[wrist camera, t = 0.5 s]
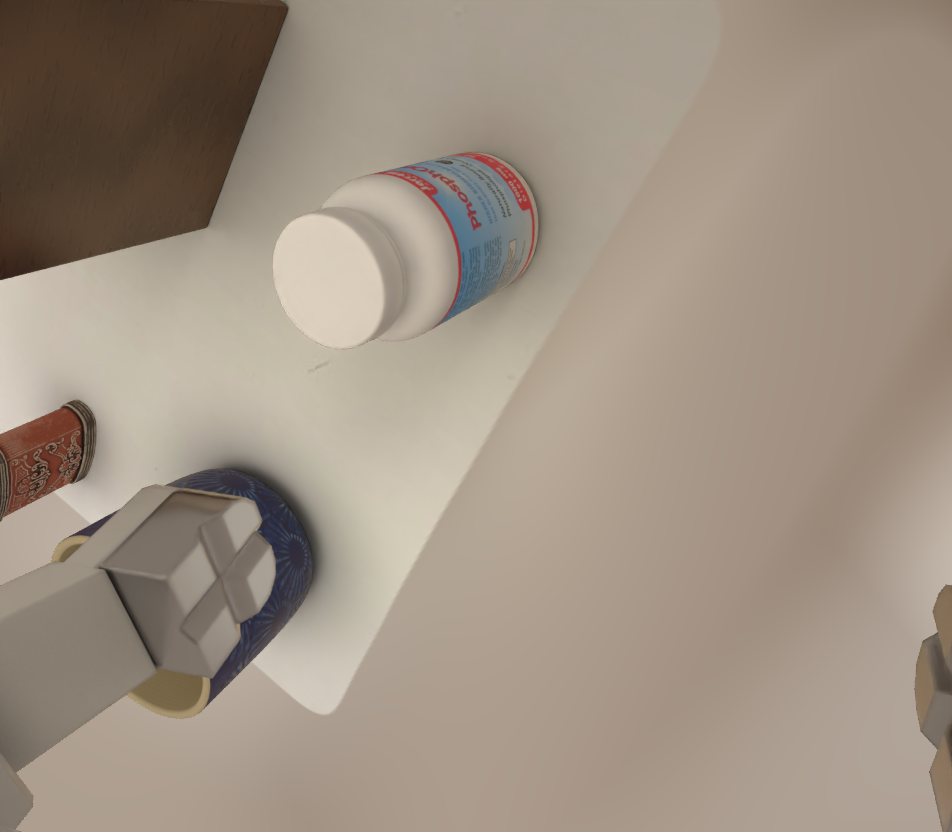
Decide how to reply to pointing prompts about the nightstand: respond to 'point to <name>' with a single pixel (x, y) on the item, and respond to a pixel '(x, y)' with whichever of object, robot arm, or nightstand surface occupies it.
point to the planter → (289, 590)
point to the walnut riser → (120, 119)
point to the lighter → (45, 455)
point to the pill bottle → (405, 249)
